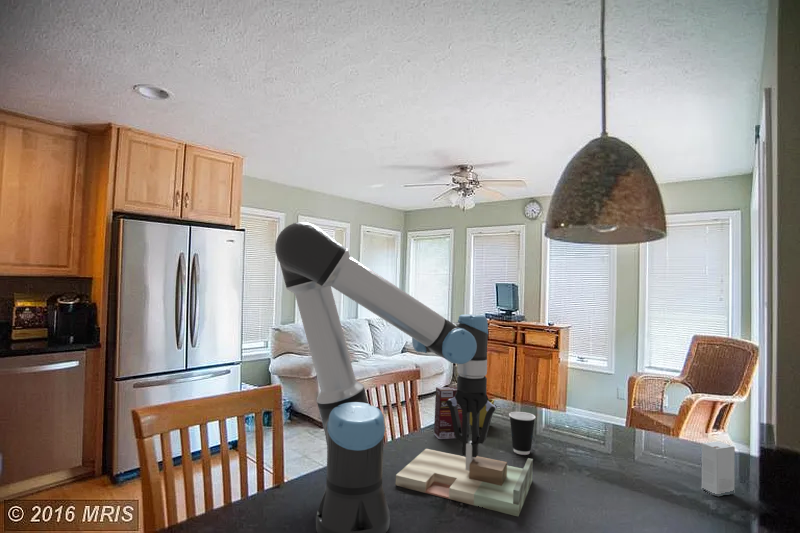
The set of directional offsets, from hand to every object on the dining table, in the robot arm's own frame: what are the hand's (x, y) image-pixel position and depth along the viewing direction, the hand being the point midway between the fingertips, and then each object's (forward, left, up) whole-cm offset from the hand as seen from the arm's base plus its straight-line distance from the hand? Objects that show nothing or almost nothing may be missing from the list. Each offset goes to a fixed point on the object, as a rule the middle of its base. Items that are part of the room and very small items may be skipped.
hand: (469, 468), depth 109 cm
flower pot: (+47, +10, -4) cm, 48 cm away
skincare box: (+26, -57, -4) cm, 63 cm away
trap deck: (0, +1, -4) cm, 4 cm away
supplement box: (+30, +16, -4) cm, 34 cm away
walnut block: (0, -5, -1) cm, 5 cm away
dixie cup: (+29, -8, -4) cm, 30 cm away
